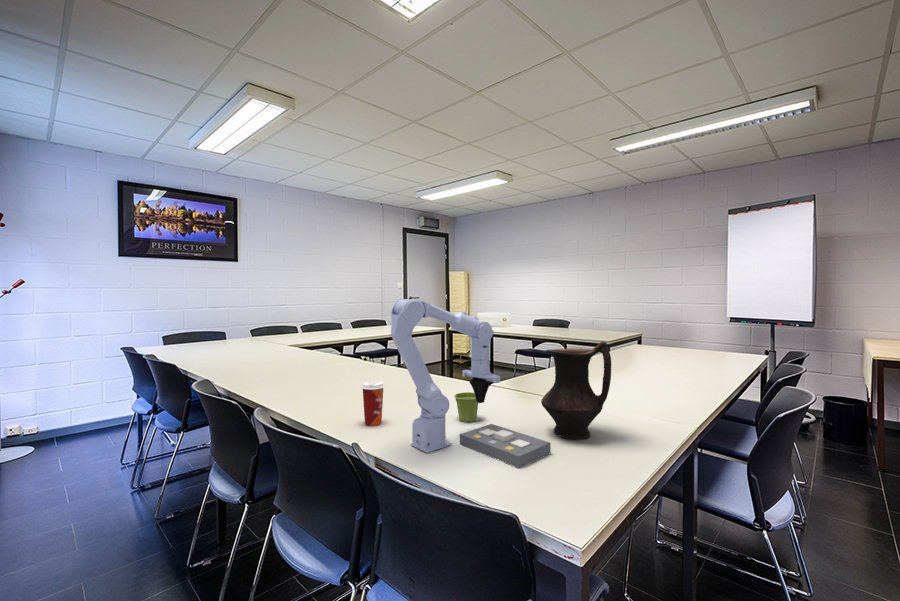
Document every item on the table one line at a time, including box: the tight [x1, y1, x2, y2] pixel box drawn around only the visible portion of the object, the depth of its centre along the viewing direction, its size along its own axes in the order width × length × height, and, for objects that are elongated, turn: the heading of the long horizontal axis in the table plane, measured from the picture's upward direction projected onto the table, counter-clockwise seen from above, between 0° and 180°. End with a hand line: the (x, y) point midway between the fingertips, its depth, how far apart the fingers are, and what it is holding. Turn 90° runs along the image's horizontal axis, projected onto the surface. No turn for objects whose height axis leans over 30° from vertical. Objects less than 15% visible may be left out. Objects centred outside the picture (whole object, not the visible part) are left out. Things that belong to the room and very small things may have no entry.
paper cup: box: [361, 380, 385, 427], centre depth 135 cm, size 8×8×14 cm
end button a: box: [479, 429, 496, 437], centre depth 117 cm, size 4×4×3 cm
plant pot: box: [453, 391, 479, 423], centre depth 139 cm, size 9×9×9 cm
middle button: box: [494, 430, 514, 443], centre depth 112 cm, size 4×4×3 cm
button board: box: [459, 423, 552, 469], centre depth 112 cm, size 14×22×3 cm, turn 42°
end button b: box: [510, 439, 531, 449], centre depth 108 cm, size 4×4×3 cm
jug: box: [540, 340, 612, 440], centre depth 123 cm, size 21×18×30 cm
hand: (480, 402), depth 123 cm, fingers closed
